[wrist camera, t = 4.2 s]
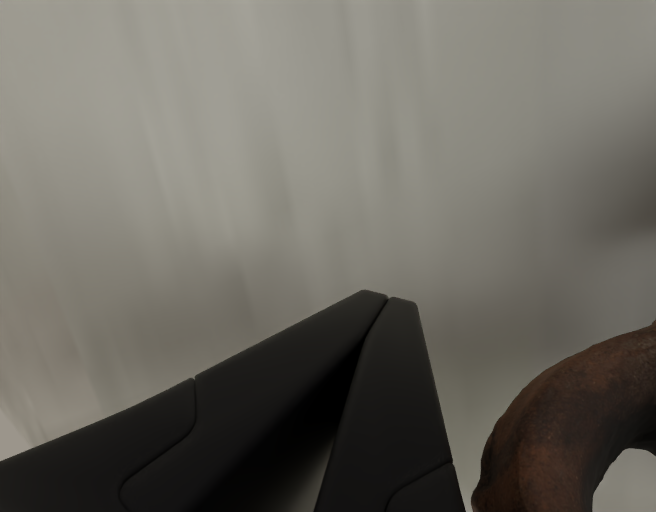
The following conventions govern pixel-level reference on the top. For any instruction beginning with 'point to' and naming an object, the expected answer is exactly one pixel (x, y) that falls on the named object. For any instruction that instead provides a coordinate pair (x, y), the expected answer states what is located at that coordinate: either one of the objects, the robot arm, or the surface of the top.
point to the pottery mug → (571, 428)
